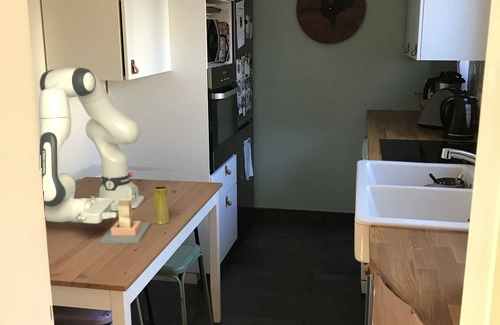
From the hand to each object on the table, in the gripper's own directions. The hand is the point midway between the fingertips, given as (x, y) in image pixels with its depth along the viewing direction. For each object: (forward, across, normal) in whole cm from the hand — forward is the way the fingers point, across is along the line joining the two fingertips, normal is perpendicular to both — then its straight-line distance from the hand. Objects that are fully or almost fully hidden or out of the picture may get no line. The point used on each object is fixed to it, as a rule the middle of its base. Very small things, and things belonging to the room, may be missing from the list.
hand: (119, 210), depth 208 cm
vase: (+13, +14, +9) cm, 21 cm away
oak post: (+2, 0, +8) cm, 8 cm away
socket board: (+2, 0, +9) cm, 9 cm away
